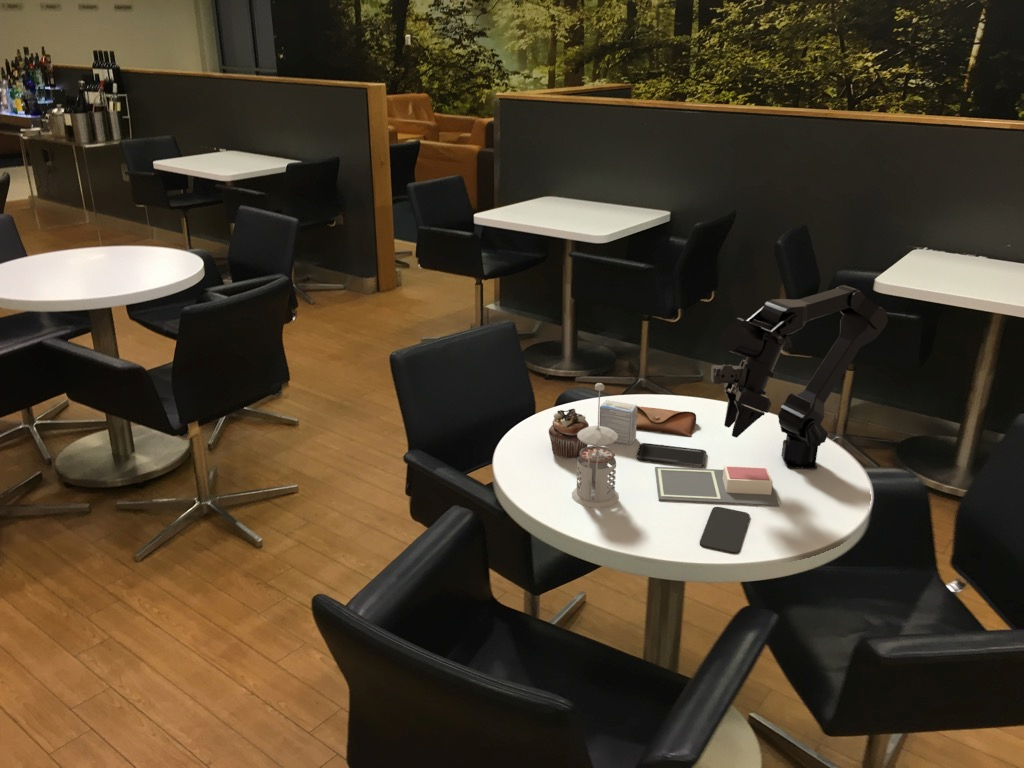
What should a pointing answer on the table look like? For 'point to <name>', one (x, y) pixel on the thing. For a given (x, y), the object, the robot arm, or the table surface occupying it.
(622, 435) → the medicine box
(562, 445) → the cupcake
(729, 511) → the phone
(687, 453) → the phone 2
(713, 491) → the mat
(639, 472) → the table surface
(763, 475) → the card deck
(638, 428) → the sunglasses case
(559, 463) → the table surface
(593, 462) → the french press
